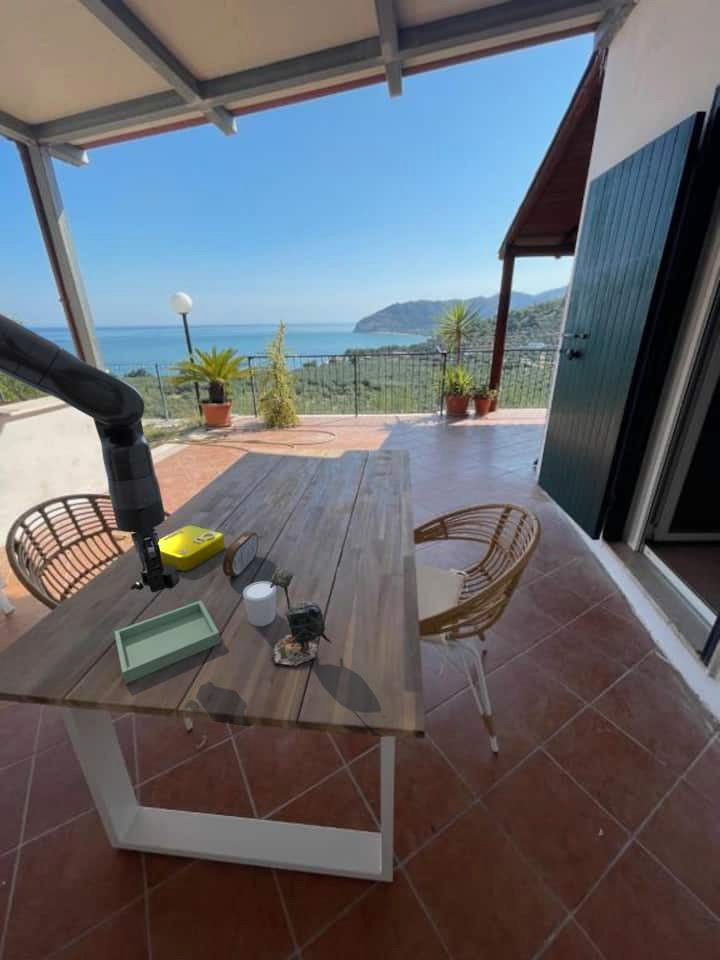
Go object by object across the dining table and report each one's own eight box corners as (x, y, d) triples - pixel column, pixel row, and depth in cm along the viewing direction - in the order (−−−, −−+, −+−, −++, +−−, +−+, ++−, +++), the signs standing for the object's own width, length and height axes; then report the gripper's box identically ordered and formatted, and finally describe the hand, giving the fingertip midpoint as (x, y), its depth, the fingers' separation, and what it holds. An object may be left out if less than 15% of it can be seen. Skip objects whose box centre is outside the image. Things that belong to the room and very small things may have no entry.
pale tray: (125, 684, 68) (122, 672, 67) (117, 641, 77) (114, 631, 76) (220, 643, 77) (219, 632, 76) (202, 609, 87) (201, 600, 86)
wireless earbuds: (148, 577, 75) (145, 563, 74) (181, 582, 74) (178, 567, 73) (130, 591, 71) (127, 576, 70) (164, 596, 70) (161, 581, 68)
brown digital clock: (251, 552, 110) (248, 525, 107) (261, 553, 110) (258, 526, 107) (223, 582, 96) (219, 552, 94) (234, 583, 96) (231, 553, 93)
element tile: (191, 536, 119) (188, 522, 118) (228, 547, 113) (226, 532, 111) (147, 559, 106) (143, 544, 105) (185, 573, 100) (183, 557, 99)
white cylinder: (239, 623, 82) (235, 595, 80) (258, 604, 88) (255, 577, 86) (266, 631, 80) (263, 603, 78) (284, 611, 86) (282, 584, 84)
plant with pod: (324, 673, 70) (320, 578, 63) (265, 664, 72) (254, 571, 65) (334, 641, 77) (332, 553, 71) (281, 634, 79) (273, 547, 73)
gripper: (107, 491, 70) (126, 571, 76) (116, 518, 59) (138, 610, 65) (153, 483, 74) (168, 559, 80) (169, 506, 64) (185, 593, 69)
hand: (154, 582), depth 73 cm, fingers closed on wireless earbuds, 5 cm apart
